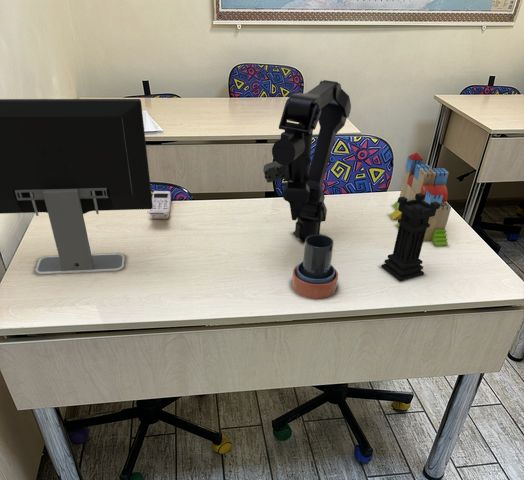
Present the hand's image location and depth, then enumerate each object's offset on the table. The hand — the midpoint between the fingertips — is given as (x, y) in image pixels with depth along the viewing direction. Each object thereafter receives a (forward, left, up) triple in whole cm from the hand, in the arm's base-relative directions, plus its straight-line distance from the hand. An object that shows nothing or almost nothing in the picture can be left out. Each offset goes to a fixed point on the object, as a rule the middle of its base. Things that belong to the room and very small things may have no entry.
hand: (294, 212), depth 134 cm
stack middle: (+2, +16, -13) cm, 21 cm away
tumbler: (+2, +16, -12) cm, 20 cm away
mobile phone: (+25, -40, -13) cm, 49 cm away
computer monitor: (+54, -18, -13) cm, 58 cm away
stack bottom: (+2, +16, -13) cm, 21 cm away
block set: (-46, -2, -13) cm, 48 cm away
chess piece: (-24, +19, -13) cm, 33 cm away
